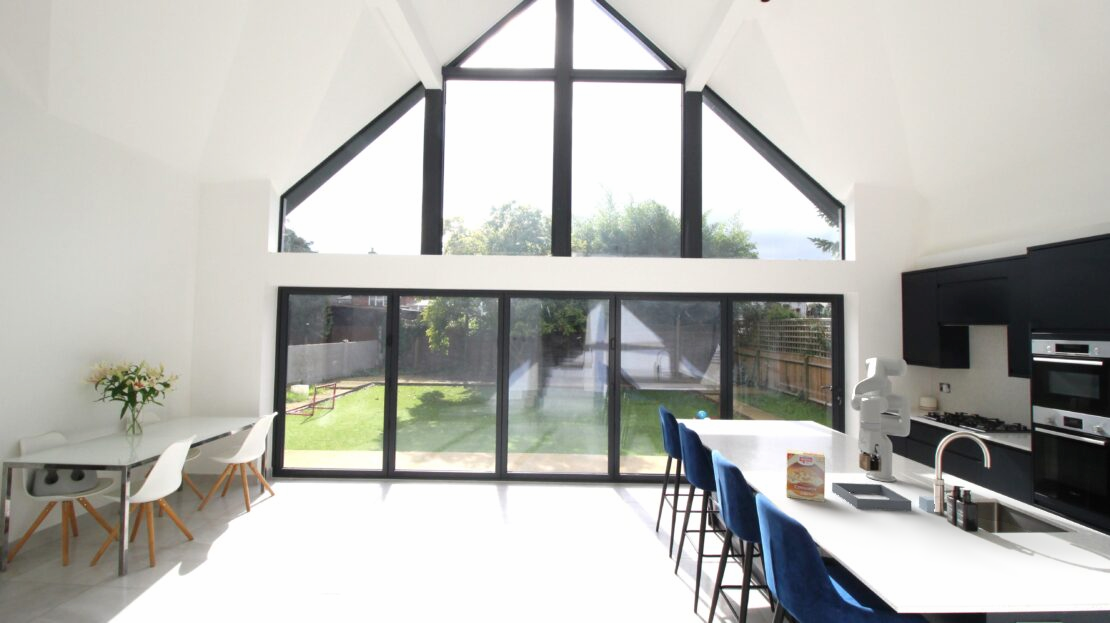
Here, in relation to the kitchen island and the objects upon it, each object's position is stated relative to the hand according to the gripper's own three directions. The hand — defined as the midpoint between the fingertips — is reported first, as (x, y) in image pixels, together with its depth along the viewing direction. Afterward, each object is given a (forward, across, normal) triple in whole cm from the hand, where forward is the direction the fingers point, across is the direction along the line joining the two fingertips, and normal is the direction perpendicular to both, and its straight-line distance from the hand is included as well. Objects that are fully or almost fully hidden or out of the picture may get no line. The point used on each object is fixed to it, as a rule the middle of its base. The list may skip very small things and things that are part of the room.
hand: (870, 467), depth 223 cm
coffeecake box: (+15, -1, -27) cm, 31 cm away
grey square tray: (+14, 0, 0) cm, 14 cm away
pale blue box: (+14, +9, +19) cm, 26 cm away
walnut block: (+1, 0, 0) cm, 1 cm away
